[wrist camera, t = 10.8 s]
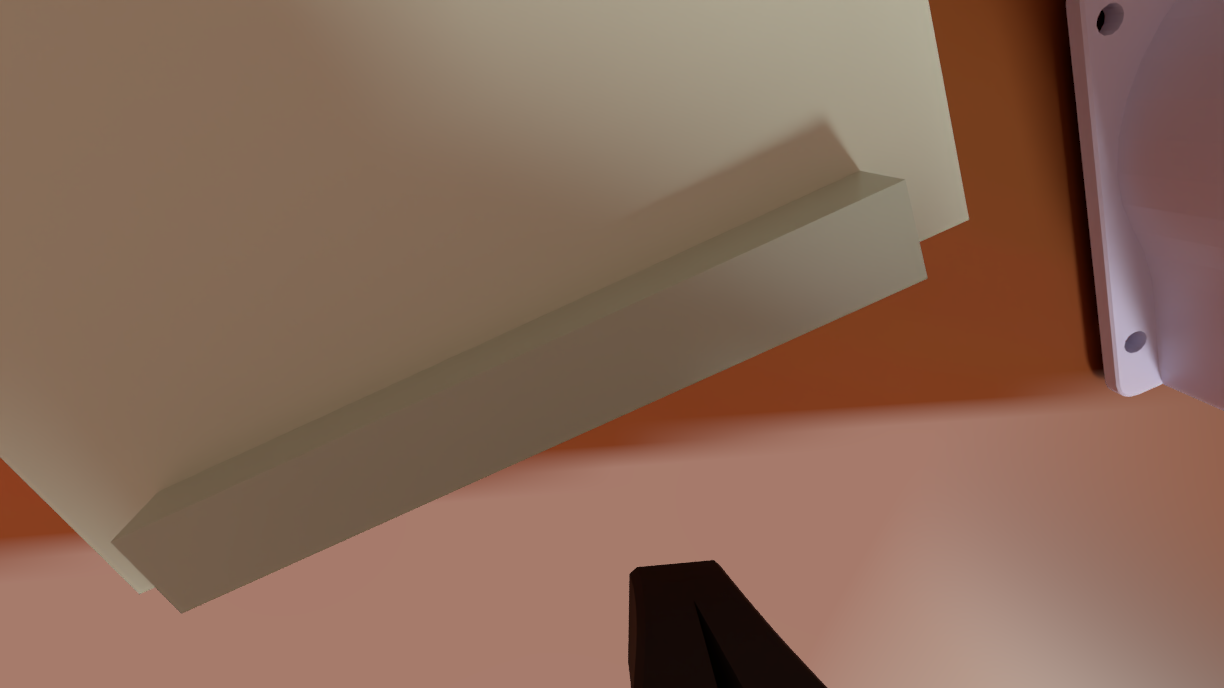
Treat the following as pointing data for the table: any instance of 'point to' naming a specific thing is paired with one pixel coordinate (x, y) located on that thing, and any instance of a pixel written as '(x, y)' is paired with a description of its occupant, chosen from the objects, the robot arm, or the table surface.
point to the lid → (419, 241)
